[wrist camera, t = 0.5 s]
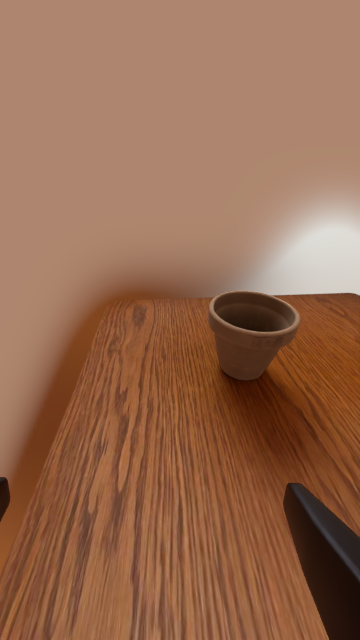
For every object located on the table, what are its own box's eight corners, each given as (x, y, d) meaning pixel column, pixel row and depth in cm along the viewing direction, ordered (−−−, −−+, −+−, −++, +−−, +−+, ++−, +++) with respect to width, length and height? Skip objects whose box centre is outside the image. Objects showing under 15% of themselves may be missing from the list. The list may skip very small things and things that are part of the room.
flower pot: (296, 396, 30) (321, 332, 25) (209, 397, 30) (216, 332, 25) (265, 343, 40) (279, 290, 35) (200, 344, 40) (204, 290, 34)
